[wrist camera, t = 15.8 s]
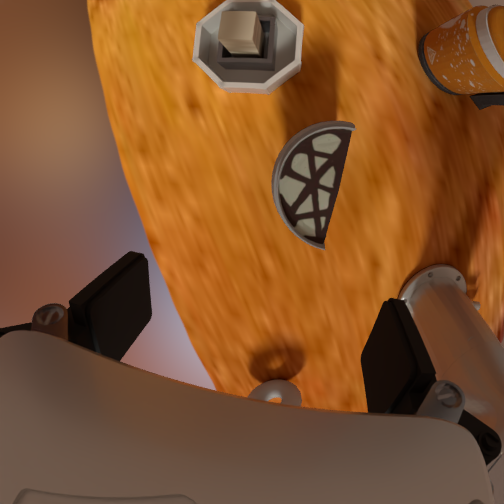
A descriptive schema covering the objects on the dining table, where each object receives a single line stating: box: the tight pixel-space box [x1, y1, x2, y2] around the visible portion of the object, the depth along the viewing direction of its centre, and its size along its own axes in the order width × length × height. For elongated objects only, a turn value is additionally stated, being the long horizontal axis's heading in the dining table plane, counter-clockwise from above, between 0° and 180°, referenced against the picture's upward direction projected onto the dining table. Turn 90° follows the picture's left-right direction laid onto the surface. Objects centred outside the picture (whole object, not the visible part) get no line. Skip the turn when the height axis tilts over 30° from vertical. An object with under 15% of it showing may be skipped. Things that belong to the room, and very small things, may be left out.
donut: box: [248, 379, 302, 406], centre depth 44 cm, size 10×3×10 cm, turn 112°
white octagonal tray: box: [192, 0, 304, 95], centre depth 25 cm, size 11×11×4 cm
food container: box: [272, 121, 356, 250], centre depth 28 cm, size 12×6×10 cm, turn 171°
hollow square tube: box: [217, 16, 278, 71], centre depth 24 cm, size 6×6×4 cm
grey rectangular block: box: [218, 11, 266, 58], centre depth 22 cm, size 3×3×9 cm
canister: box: [418, 5, 504, 110], centre depth 15 cm, size 9×11×20 cm
